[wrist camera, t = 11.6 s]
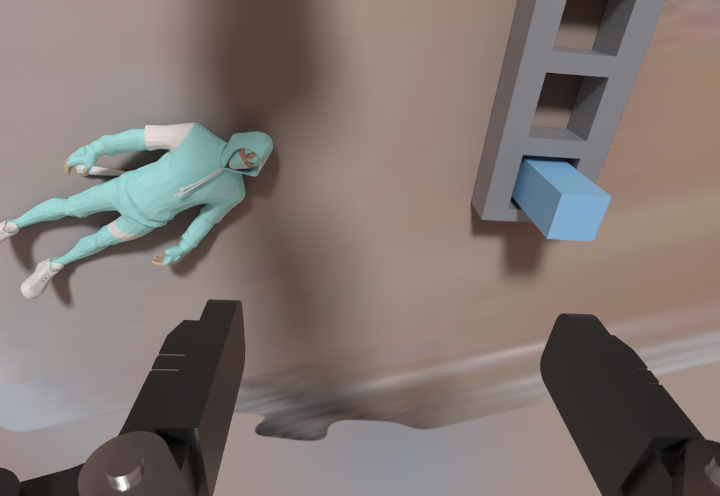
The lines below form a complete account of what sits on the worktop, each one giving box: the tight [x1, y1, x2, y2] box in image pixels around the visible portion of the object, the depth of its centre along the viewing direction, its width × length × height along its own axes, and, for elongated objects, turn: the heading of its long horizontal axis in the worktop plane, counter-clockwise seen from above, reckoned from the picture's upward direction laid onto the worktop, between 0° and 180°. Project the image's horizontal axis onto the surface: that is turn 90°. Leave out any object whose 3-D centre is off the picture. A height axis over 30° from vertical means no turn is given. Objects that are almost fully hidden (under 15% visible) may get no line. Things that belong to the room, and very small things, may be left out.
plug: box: [512, 155, 611, 241], centre depth 40 cm, size 4×4×11 cm
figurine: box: [0, 122, 273, 299], centre depth 42 cm, size 13×6×30 cm
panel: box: [471, 0, 666, 223], centre depth 39 cm, size 22×10×4 cm, turn 175°
